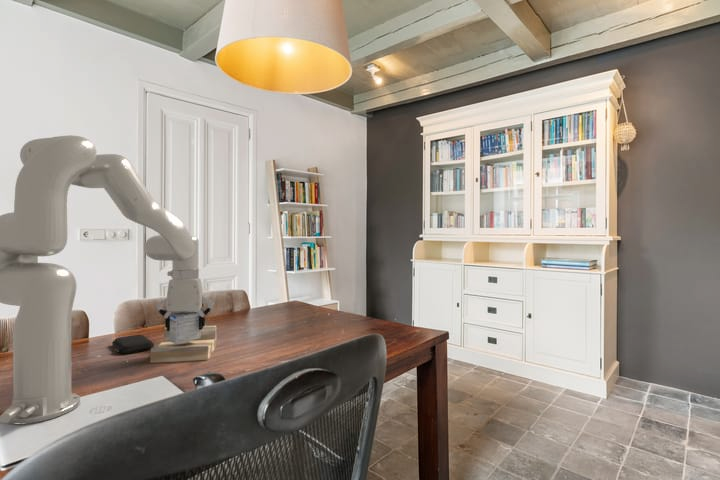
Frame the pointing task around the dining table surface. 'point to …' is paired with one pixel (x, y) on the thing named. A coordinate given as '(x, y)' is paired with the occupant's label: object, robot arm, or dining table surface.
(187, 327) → the medicine box
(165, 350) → the stepped wooden block
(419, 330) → the dining table surface
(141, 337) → the carrying case or bag
